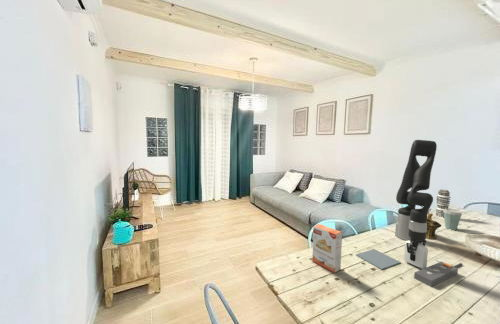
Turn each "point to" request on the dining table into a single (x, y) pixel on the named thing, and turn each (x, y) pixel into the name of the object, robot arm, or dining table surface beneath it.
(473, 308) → the dining table surface
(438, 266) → the power strip
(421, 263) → the photo printer
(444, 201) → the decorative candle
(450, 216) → the disposable coffee cup
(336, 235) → the cracker box
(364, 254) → the rubber mat
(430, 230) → the decorative box
